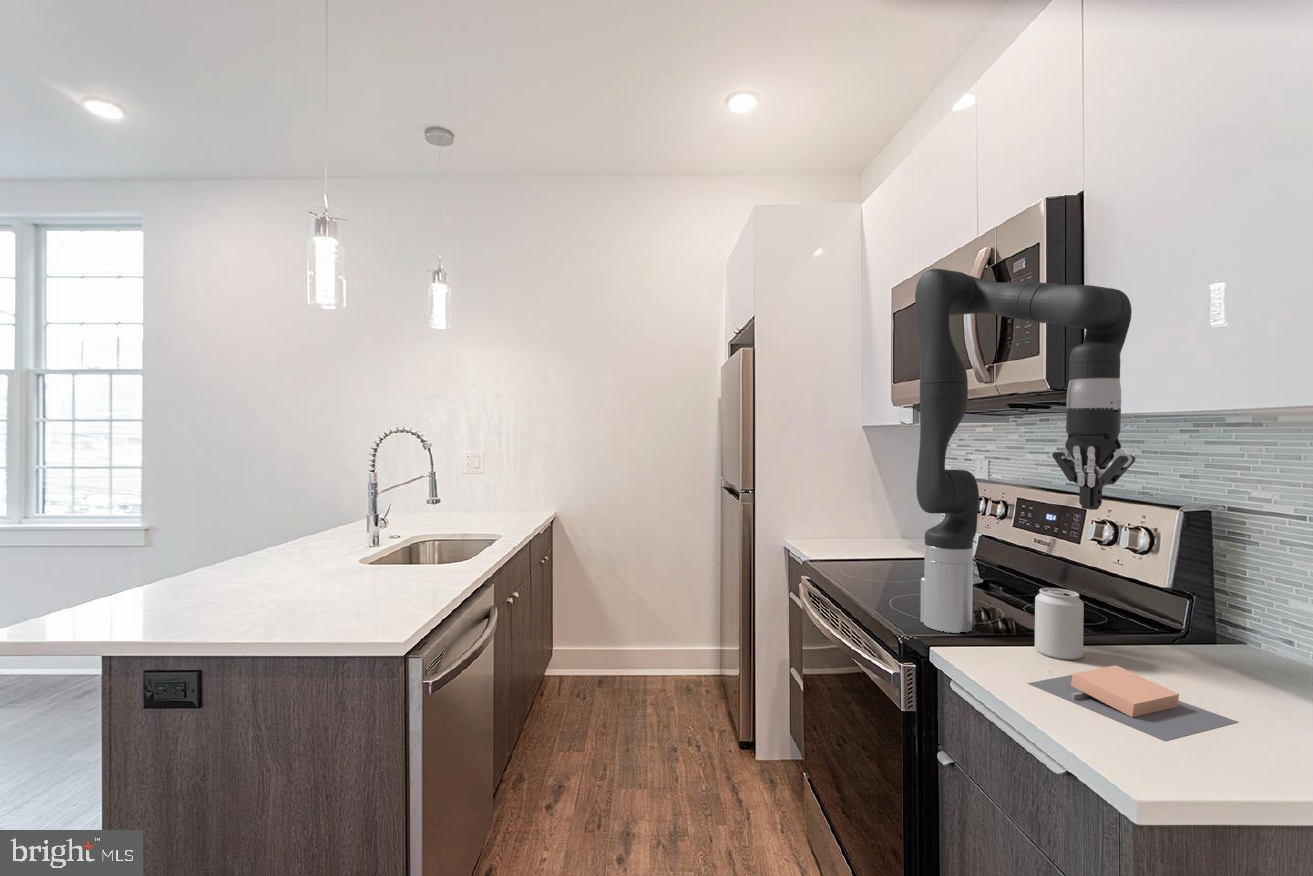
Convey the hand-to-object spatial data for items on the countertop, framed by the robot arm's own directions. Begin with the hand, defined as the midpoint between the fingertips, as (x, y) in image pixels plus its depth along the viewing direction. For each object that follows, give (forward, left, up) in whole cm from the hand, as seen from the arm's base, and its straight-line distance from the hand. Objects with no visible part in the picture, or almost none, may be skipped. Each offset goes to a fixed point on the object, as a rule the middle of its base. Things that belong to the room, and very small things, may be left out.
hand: (1090, 508), depth 104 cm
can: (-8, +4, -29) cm, 30 cm away
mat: (+10, -6, -28) cm, 30 cm away
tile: (+5, -6, -26) cm, 27 cm away
